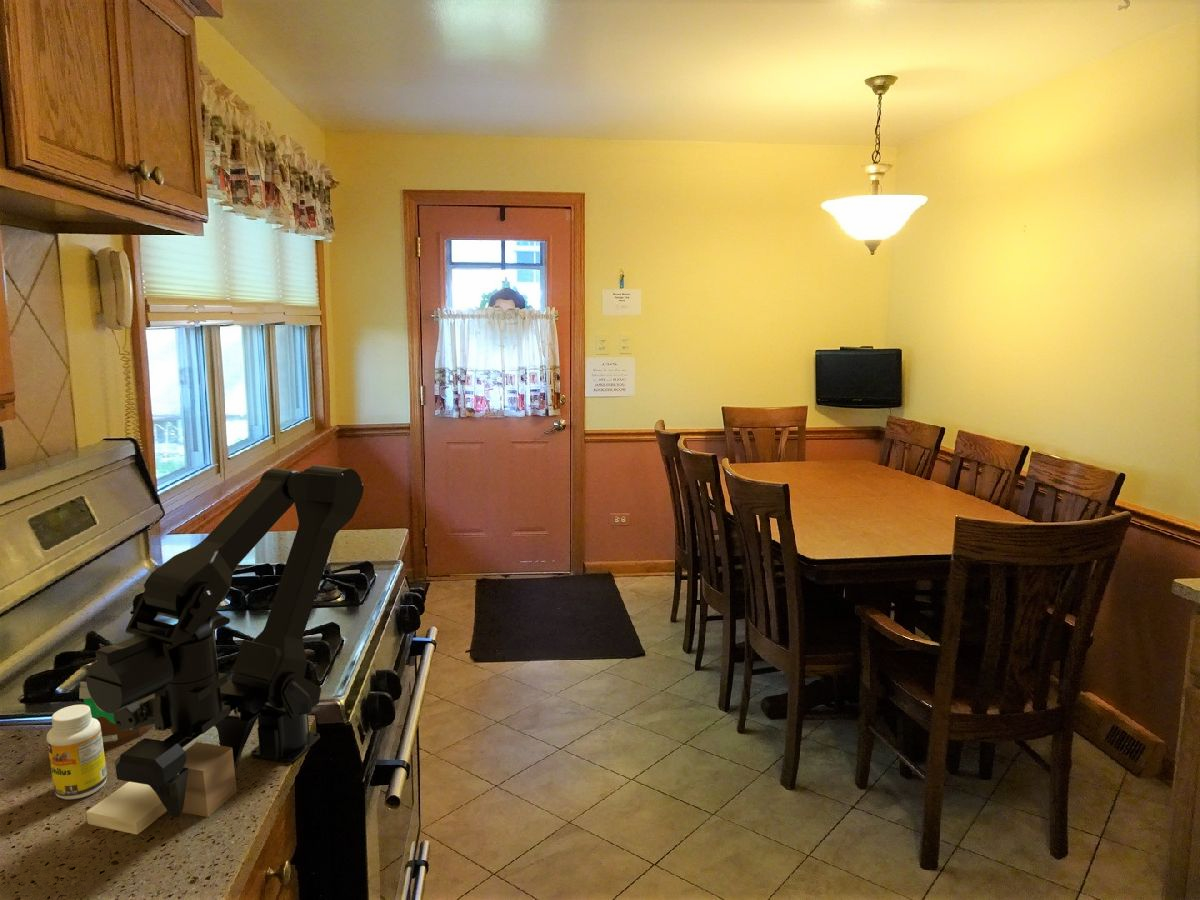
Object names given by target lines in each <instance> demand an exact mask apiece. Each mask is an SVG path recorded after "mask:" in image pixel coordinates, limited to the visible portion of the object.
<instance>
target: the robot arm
mask: <svg viewBox="0 0 1200 900" xmlns="http://www.w3.org/2000/svg"><path fill="white" fill-rule="evenodd" d="M364 490H365V489H364V483H363V482H362V479H361V477H360V474H359V473H358V472H357V471H356V470H354V469H351V468H347V467H336V466H330V465H320V464H314V465H311V466H310V467H308V468H305V469H304V470H303V471H302V470H295V469H294V470H293V469H287V468H280V467H273V468H270V469H268V470H266V471H264V473H263V474H262V475H261V478H260V480H259V482H258V483H257V484H256V485H255V486H254V487H253V488H252V489H251V490H250V492H248V494H246V495H245V497H244V498H243V499H241V501H240V502H238V504H237V505H236V506H235V507H234V508H233V509H232V510H231V511H230V512H229V513H228V514H227V515H226V516H225V517H224V518H223V520H222V521H220V522H219V524H217V525H216V526H215V527H214V529H213V530H212V531H211V532H210V533H209V534H208V535H207V536H206V537H205V538H204V539H203V540H201V541H200V542H199V543H198V544H196V546H193V547H191V548H189V549H187V550H185V551H181V552H180V553H178V554H177V553H176V554H175V555H173V556H172V557H171V558H169V559H168V560H167V561H165V562H164V563H163V564H161V565H160V566H159V567H158V568H156V569H155V570H153V571H152V572H151V574H149V576H148V577H147V579H145V583H144V584H143V588H144V591H143V592H142V594H141V597H140V600H139V601H138V603H137V606H136V607H135V610H134V611H133V614H132V616H131V618H130V620H129V622H128V624H127V626H126V628H125V633H126V634H128V635H132V637H130V638H128V639H124V640H123V641H120V642H118V643H116V644H111V645H106V646H103V647H101V648H99V649H97V650H96V651H95V658H96V661H94V662H92V663H91V665H90V666H89V668H88V671H87V672H88V673H87V676H86V677H85V682H86V683H87V688H88V691H89V693H90V696H91V697H92V699H93V701H94V702H95V704H96V705H97V706H98V707H99V708H100V709H101V710H103V711H104V712H107V713H114V721H115V723H116V725H117V728H118V729H120V730H122V731H124V730H128V729H132V731H136V730H138V729H139V728H141V727H145V726H149V725H153V724H154V730H155V731H161V732H164V731H166V730H170V731H169V732H170V733H171V735H170V736H168V737H166V738H165V739H164V740H160V739H159V740H158V739H154V738H153V739H152V738H148V737H147V738H146V737H143V738H142V739H141V740H140V741H138V742H136V744H134V745H132V746H131V747H129V748H128V749H126V750H125V751H123V752H122V753H121V754H120V755H118V757H117V758H116V759H115V760H114V766H115V773H116V775H115V776H116V780H118V781H123V782H127V783H128V782H134V783H140V784H146V785H149V786H150V787H151V788H152V789H153V790H154V791H155V793H156V794H157V796H158V797H159V799H160V800H161V802H162V803H163V805H164V806H165V808H166V809H167V812H168V814H169V815H170V816H171V817H172V818H174V819H175V818H177V819H179V818H180V817H181V816H182V813H183V812H182V810H183V806H184V799H185V792H186V785H187V778H188V771H189V768H184V765H185V762H186V753H185V751H186V750H185V749H188V748H189V747H190V746H192V745H193V743H196V741H197V740H199V739H200V738H201V737H203V736H204V735H206V734H207V733H208V732H210V731H211V730H212V729H213V728H216V730H217V735H218V741H219V746H226V747H232V750H233V760H234V770H235V771H236V767H237V765H238V763H239V760H240V758H241V756H242V753H243V751H244V748H245V745H246V743H247V741H248V739H249V738H250V737H249V736H250V735H251V733H252V731H253V728H254V726H255V723H256V721H257V726H258V727H257V738H258V744H257V746H255V747H254V749H252V750H251V751H250V756H251V757H253V758H260V759H268V760H272V761H280V762H286V763H293V762H296V760H297V759H299V758H300V757H301V756H302V755H304V753H305V752H306V751H308V749H310V747H312V746H313V745H314V744H315V743H316V742H317V741H318V740H320V738H321V736H320V733H318V732H311V730H310V720H309V714H311V712H313V711H312V709H314V707H315V706H317V705H318V704H319V703H320V699H321V693H322V687H321V686H319V685H317V684H316V683H314V682H312V681H310V680H309V679H307V678H305V675H306V670H307V665H308V660H307V655H306V651H305V645H304V640H303V639H304V634H305V632H306V628H307V625H308V621H309V618H310V615H311V613H312V609H313V607H314V604H315V600H316V597H317V593H318V592H319V591H318V590H319V588H320V584H321V581H322V578H323V575H324V572H325V569H326V565H327V562H328V559H329V557H330V554H331V551H332V550H331V549H332V546H333V544H334V540H335V538H336V535H337V534H338V532H339V531H341V530H342V528H344V527H345V526H346V525H347V524H348V523H349V522H350V521H351V520H352V519H353V517H354V516H355V513H356V511H357V509H358V507H359V504H360V502H361V500H362V498H363V494H364ZM293 505H294V508H295V512H296V516H297V521H298V522H297V523H298V525H297V529H296V533H295V535H294V538H293V541H292V544H291V548H290V551H289V553H288V556H287V560H286V562H285V565H284V569H283V572H282V575H281V577H280V581H279V583H278V586H277V589H276V593H275V596H274V599H273V602H272V605H271V607H270V610H269V614H268V615H267V620H266V623H265V625H264V628H263V630H262V631H260V633H259V634H258V635H256V637H255V638H253V640H251V641H250V640H247V639H244V640H242V642H241V643H240V645H239V648H238V652H237V656H236V659H235V661H234V664H233V665H232V667H231V669H230V672H232V673H233V674H232V679H228V674H227V673H222V672H219V667H218V664H219V663H218V656H217V648H216V647H217V646H216V638H215V637H216V636H215V630H217V629H220V628H222V627H225V626H226V625H229V624H230V623H231V619H230V617H228V616H225V615H223V614H221V613H220V612H219V611H218V608H219V607H220V604H221V603H222V602H223V600H224V599H225V597H226V596H227V594H228V593H229V591H230V589H231V586H232V581H233V575H234V572H235V570H236V569H237V567H238V566H239V565H240V564H241V562H243V560H244V559H245V558H246V557H247V556H248V555H249V554H250V552H252V550H253V549H254V548H255V547H256V546H257V545H258V543H260V541H262V539H264V537H265V536H266V535H267V534H268V532H269V531H270V530H271V529H272V528H273V527H274V526H275V525H276V523H278V522H279V520H281V518H282V517H283V516H284V515H285V514H286V512H287V511H288V510H289V509H290V508H291V507H292V506H293ZM157 616H162V617H165V618H166V617H167V618H171V619H173V620H177V622H176V623H173V624H172V623H167V622H164V621H160V620H155V619H156V618H157Z"/></svg>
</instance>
